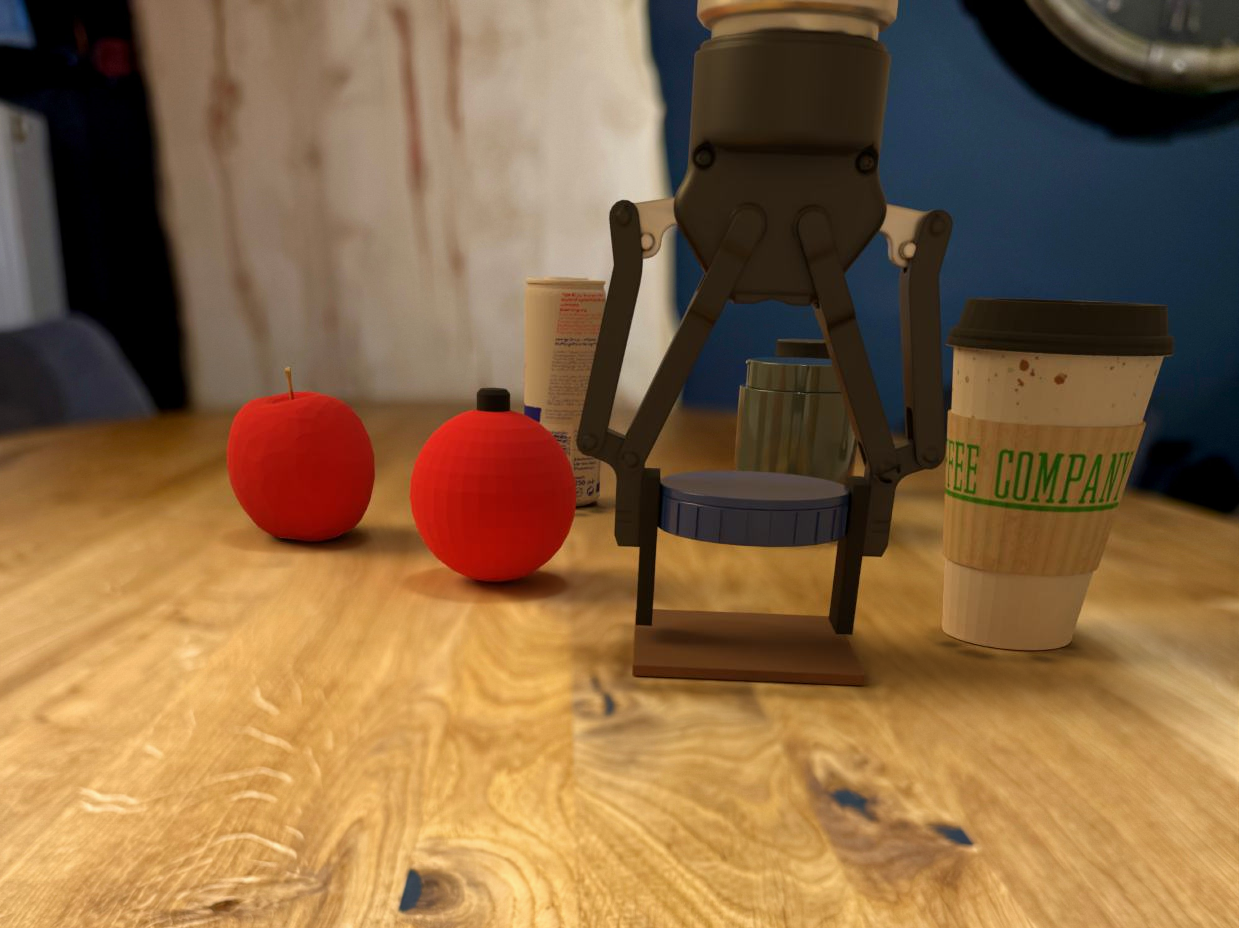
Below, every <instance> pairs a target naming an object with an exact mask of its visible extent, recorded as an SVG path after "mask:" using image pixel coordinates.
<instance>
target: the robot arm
mask: <svg viewBox="0 0 1239 928" xmlns="http://www.w3.org/2000/svg"><path fill="white" fill-rule="evenodd" d="M898 7H899V0H697V7H696V8H697V9H696V10H697V11H696V17H697V19H698V21H699V22H700V24H701V25H702V26H703V28H705V29H707V30H709V31H710V32H711V37H710V38H709V39H706V40H704V41H703V42H702V43H701V44H700V49H699V50H696V52H695V53H694V59H693V60H694V62H693V74H692V75H693V76H692V77H693V78H692V93H691V107H690V108H691V111H690V112H691V113H690V126H689V127H690V129H689V145H688V160H687V162H688V163H687V170H686V172H685V175H684V178H683V180H682V181H681V184H680V185H679V186H678V189H677V191H676V192H675V196H674V197H667V198H659V199H653V200H645V201H640V202H639V201H638V202H632V201H630V200H629V199H620V200H618V201H616V202H615V203H614V204H613V205H612V206H611V207H610V210H609V215H608V217H609V218H608V221H609V222H608V223H609V231H610V233H609V234H610V241H611V242H610V243H611V251H612V261H613V267H612V272H611V275H610V280H609V286H608V289H607V293H606V304H605V308H604V313H603V318H602V322H601V327H600V331H599V336H598V341H597V345H596V350H595V355H594V359H593V364H592V369H591V373H590V378H589V383H588V387H587V392H586V397H585V401H584V406H583V411H582V415H581V420H580V425H579V429H578V434H577V439H576V445H577V447H578V450H579V451H580V452H581V453H582V454H583V455H586V456H592V457H594V458H596V459H599V460H601V462H604V463H605V464H607V465H608V466H610V467H611V468H612V470H613V472H614V474H615V478H616V479H615V480H616V483H615V504H614V505H615V506H614V507H615V508H614V529H613V531H614V532H613V535H614V538H615V541H616V544H617V547H625V548H626V547H628V548H639V549H638V566H637V567H638V568H637V587H636V588H637V589H636V607H635V618H636V624H635V623H634V626H635V625H642V626H652V616H653V609H654V598H655V597H654V596H655V582H656V581H655V580H656V579H655V578H656V564H657V563H656V562H657V544H658V530H659V529H658V528H659V527H658V512H659V495H660V479H661V478H662V477H661V467H646V462H647V460H648V458H649V456H650V454H651V452H652V450H653V448H654V446H655V444H656V441H657V440H658V438H659V436H660V435H661V432H662V431H663V428H664V426H665V424H666V422H667V420H668V419H669V417H670V414H671V413H672V410H673V408H674V406H675V404H676V402H677V401H678V399H679V396H680V394H681V392H682V390H683V389H684V387H685V384H686V382H687V380H688V378H689V376H690V375H691V372H692V371H693V369H694V366H695V364H696V362H697V361H698V359H699V357H700V354H701V352H702V350H703V349H704V347H705V344H706V343H707V340H708V338H709V337H710V335H711V332H712V331H713V329H714V327H715V325H716V323H717V321H718V320H719V319H720V316H721V314H722V312H723V310H724V308H725V306H726V304H727V303H728V302H731V303H732V304H734V305H756V304H759V303H763V302H767V301H771V300H773V301H776V302H779V303H782V304H785V305H789V306H794V307H811V305H812V308H813V312H814V315H815V318H816V320H817V323H818V325H819V328H820V330H821V333H822V337H823V340H825V343H826V346H827V349H828V352H829V356H830V359H831V362H832V365H833V368H834V371H835V375H836V378H837V381H838V384H839V387H840V391H841V394H842V397H843V400H844V403H845V406H846V410H847V413H848V416H849V419H850V422H851V426H852V429H853V432H854V435H855V438H856V441H857V449H858V451H859V454H860V458H861V460H862V464H863V466H864V472H863V475H854V476H846V477H845V485H844V486H847V487H848V488H849V489H850V491H851V492H850V499H849V509H848V517H847V526H846V533H845V536H844V537H843V538H842V539H839V540H837V546H836V553H835V562H834V568H833V569H834V571H833V580H832V587H831V594H830V595H831V596H830V603H829V612H828V616H829V621H830V623H831V625H832V627H833V629H834V631H835V633H836V634H845V636H847V635H848V636H853V634H854V628H855V627H854V626H855V620H856V610H857V604H858V594H859V589H860V579H861V572H862V565H863V557H866V558H867V557H869V558H871V557H872V558H882V557H883V556H884V554H885V552H886V550H887V548H888V546H889V540H890V532H891V525H892V518H893V512H894V511H893V510H894V503H895V497H896V496H895V495H896V490H897V487H898V485H899V483H900V482H901V481H902V479H904V478H906V477H907V476H909V475H912V474H915V473H918V472H921V471H925V470H934V469H936V468H938V467H939V466H941V465H942V464H943V462H944V460H945V458H946V436H945V435H946V434H945V408H944V406H945V405H944V380H943V379H944V378H943V352H942V322H941V295H940V293H941V292H940V274H941V270H942V267H943V264H944V259H945V256H946V254H947V249H948V246H949V243H950V238H951V236H952V231H953V227H954V222H953V218H952V216H951V215H950V213H949V212H948V211H946V210H944V209H931V210H928V211H927V210H926V211H924V210H923V211H922V210H918V209H913V208H909V207H904V206H899V205H896V204H895V205H894V204H889V203H887V197H886V195H885V193H884V190H883V187H882V184H881V179H880V169H879V168H880V159H881V158H880V156H881V148H882V139H883V132H884V123H885V115H886V106H887V100H888V99H887V98H888V88H889V81H890V72H891V66H892V65H891V64H892V55H891V54H890V53H889V52H888V47H887V46H886V44H884V43H883V42H881V41H880V39H879V34H880V33H883V32H884V31H886V30H888V29H889V28H890V26H891V25H892V24H893V23H894V22H895V21H896V20H897V15H898ZM674 226H677V227H678V229H679V231H680V232H681V235H682V236H683V237H684V240H685V241H686V243H687V245H688V247H689V248H690V250H691V252H692V253H693V255H694V257H695V259H696V260H697V262H698V264H699V265H700V268H701V269H702V271H703V272H704V273H703V274H702V277H701V279H700V281H699V283H698V285H697V287H696V289H695V291H694V293H693V296H692V297H691V300H690V302H689V304H688V306H687V309H686V310H685V313H684V315H683V317H682V319H681V320H680V323H679V324H678V327H677V329H676V331H675V332H674V335H673V336H672V339H671V341H670V343H669V346H668V347H667V349H666V352H665V353H664V356H663V357H662V359H661V362H660V364H659V366H658V367H657V370H656V372H655V374H654V376H653V378H652V380H651V382H650V384H649V386H648V388H647V390H646V392H645V394H644V396H643V398H642V400H641V402H640V405H639V407H638V409H637V410H636V413H635V415H634V417H633V419H632V421H631V422H630V425H629V427H628V429H627V431H626V433H625V434H624V433H621V432H619V431H617V430H614V429H612V428H610V421H611V417H612V413H613V409H614V403H615V399H616V396H617V395H616V394H617V391H618V386H619V382H620V376H621V372H622V368H623V364H624V359H625V354H626V349H627V346H628V341H629V337H630V332H631V328H632V324H633V319H634V314H635V311H636V306H637V303H638V296H639V293H640V287H641V282H642V278H643V270H644V260H646V259H647V260H648V259H651V258H653V257H655V256H656V255H657V254H658V253H659V251H660V250H661V247H662V242H663V237H664V234H665V233H666V231H667V230H668V229H670V228H671V227H674ZM878 233H880V234H881V235H883V236H884V238H885V239H886V241H887V245H888V246H887V255H888V256H887V257H888V260H889V261H890V263H892V265H894V266H896V267H899V268H900V271H899V279H898V300H899V303H898V304H899V321H900V322H899V323H900V324H899V325H900V343H901V363H902V385H903V403H904V404H903V405H904V425H905V426H904V427H905V440H901V441H898V442H895V443H894V439H893V436H892V433H891V430H890V426H889V422H888V419H887V416H886V413H885V410H884V406H883V403H882V400H881V396H880V392H879V390H878V386H877V384H876V380H875V376H874V374H873V370H872V365H871V364H870V360H869V357H868V354H867V350H866V346H865V344H864V340H863V337H862V334H861V330H860V328H859V324H858V320H857V316H856V315H857V313H856V309H855V305H854V302H853V299H852V295H851V292H850V289H849V285H848V283H847V279H846V274H847V272H848V271H849V270H850V268H851V267H852V266H853V265H854V263H856V261H857V260H858V258H859V257H860V256H861V255H862V254H863V252H864V251H865V250H866V248H867V247H868V245H870V243H871V242H872V241H873V239H874V238H875V237H876V236H877V234H878Z"/></svg>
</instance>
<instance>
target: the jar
mask: <svg viewBox="0 0 1239 928" xmlns="http://www.w3.org/2000/svg"><path fill="white" fill-rule="evenodd" d="M745 365H747V373H746V383H742V384H740V385H739V394H738V407H737V421H736V435H735V447H734V459H733V469H732V471H754V472H771V473H783V474H792V475H800V476H807V477H814V478H819V479H824V480H829V481H833V482H837V483H840V484H842V485H845V477H846V476H855V467H856V459H857V452H858V451H857V450H858V445H857V441H856V438H855V435H854V432H853V429H852V426H851V422H850V419H849V416H848V413H847V410H846V406H845V403H844V400H843V397H842V394H841V391H840V387H839V384H838V381H837V378H836V375H835V371H834V368H833V365H832V362H831V359H821V358H799V357H776V356H761V357H751V358H748V359H747V360H746V361H745Z"/></svg>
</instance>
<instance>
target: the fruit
mask: <svg viewBox="0 0 1239 928" xmlns="http://www.w3.org/2000/svg"><path fill="white" fill-rule="evenodd" d="M284 373H285V376H286V377H285V378H286V381H287V388H288V392H285V393H280V394H273V395H268V396H263V397H257V398H254V399H251V400H249V401H248V402H247V403H245V404H243V405H242V407H241V409H239V411H237V413H236V415H235V416H234V419H233V421H232V424H231V427H230V430H229V434H228V440H227V449H226V467H227V472H228V477H229V482H230V486H231V488H232V490H233V494H234V496H235V498H236V499H237V501H238V503H239V504H240V506H241V508H242V509H243V511H244V513H246V515H248V517H249V518H250V519H251V521H252V522H253V523H254V524H255V525H256V526H257V528H259V529H260V530H262V531H264V532H265V533H266V534H269V535H270V536H273V537H274V538H278V539H286V540H287V539H289V540H296V541H303V542H308V543H311V542H316V543H317V542H322V541H328V540H333V539H335V538H337V537H339V536H341V535H343V534H345V533H348V532H349V531H351V530H353V529H355V528H356V526H358V524H359V523H360V522H361V521H362V520H363V517H364V516H365V514H366V512H367V511H368V508H369V505H370V502H371V499H372V494H373V491H374V485H375V481H376V465H375V452H374V447H373V444H372V441H371V438H370V435H369V434H368V431H367V429H366V427H365V424H364V423H363V420H362V419H361V418H360V417H359V415H358V414H357V413H356V412H355V411H354V409H353V408H352V407H350V406H349V405H348V404H347V403H345V402H344V401H343V400H341V399H339V398H337V397H335V396H332V395H328V394H325V393H324V394H323V393H319V392H316V391H315V392H314V391H310V390H307V391H306V390H305V391H294V389H293V384H292V367H291V366H286V367H285V369H284Z"/></svg>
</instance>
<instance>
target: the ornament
mask: <svg viewBox="0 0 1239 928" xmlns="http://www.w3.org/2000/svg"><path fill="white" fill-rule="evenodd" d="M576 498H577V497H576V482H575V477H574V474H573V470H572V466H571V463H570V461H569V459H568V457H567V455H566V453H565V451H564V449H563V448H562V446H561V445H560V444H559V442H558V441H557V440H556V438H555V437H554V436H553V435H552V434H551V433H550V432H549V431H548V430H547V429H546V428H544V427H543V426H542V425H541V424H540V423H538V422H537V421H535V420H533V419H532V418H530V417H528V416H526V415H524V413H521V412H518V411H515V410H512V409H511V393H510V391H509V390H508V389H507V388H503V387H481V388H480V389H479V390H478V391H476V409H472V410H468V411H465V412H462V413H460V414H457V415H456V416H454V417H452V418H450V419H448V420H447V421H445V422H444V423H443V424H442V425H441V426H439V428H437V429H436V430H435V431H433V433H432V434H431V435H430V437H429V438H428V439H427V440H426V442H425V443H424V445H422V447H421V449H420V451H419V454H418V455H417V457H416V460H415V462H414V465H413V469H412V473H411V476H410V485H409V501H410V508H411V514H412V518H413V520H414V522H415V526H416V529H417V532H418V534H419V535H420V537H421V539H422V542H424V544H425V546H426V547H427V548H428V550H429V551H430V552H431V553H432V554H433V556H434V557H435V558H436V559H437V560H438V561H440V562H441V563H443V564H444V565H445V566H446V567H448V569H450V570H452V571H453V572H455V573H458V574H459V575H461V576H463V577H466V578H468V579H471V580H472V579H473V580H477V581H482V582H487V583H488V582H489V583H501V582H509V581H512V580H519V579H521V578H524V577H525V576H527V575H531V574H532V573H534V572H536V571H538V570H539V569H540V568H542V567H543V566H544V565H546V564H547V563H548V562H550V560H552V558H554V557H555V555H556V554H557V552H558V551H560V549H561V548H562V547H563V545H564V543H565V541H566V540H567V538H568V536H569V534H570V532H571V529H572V525H573V522H574V519H575V516H576V515H575V514H576V507H577V506H576Z"/></svg>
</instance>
